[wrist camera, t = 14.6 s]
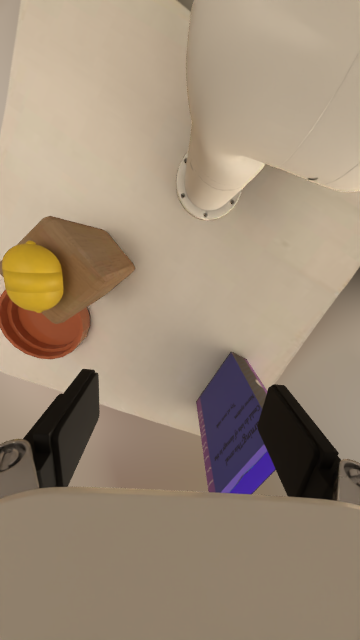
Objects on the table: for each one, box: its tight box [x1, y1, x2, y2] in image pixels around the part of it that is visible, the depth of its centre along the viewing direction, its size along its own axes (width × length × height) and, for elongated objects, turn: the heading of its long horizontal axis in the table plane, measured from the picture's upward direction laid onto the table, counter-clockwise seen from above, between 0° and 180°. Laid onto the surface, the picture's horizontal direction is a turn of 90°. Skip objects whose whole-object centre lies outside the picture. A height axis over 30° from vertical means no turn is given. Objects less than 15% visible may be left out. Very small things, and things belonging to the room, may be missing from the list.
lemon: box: [2, 241, 63, 313], centre depth 22 cm, size 8×5×5 cm
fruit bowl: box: [0, 290, 90, 359], centre depth 45 cm, size 17×17×4 cm
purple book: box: [196, 352, 276, 494], centre depth 43 cm, size 17×5×24 cm, turn 151°
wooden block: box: [0, 216, 135, 324], centre depth 34 cm, size 10×10×20 cm
